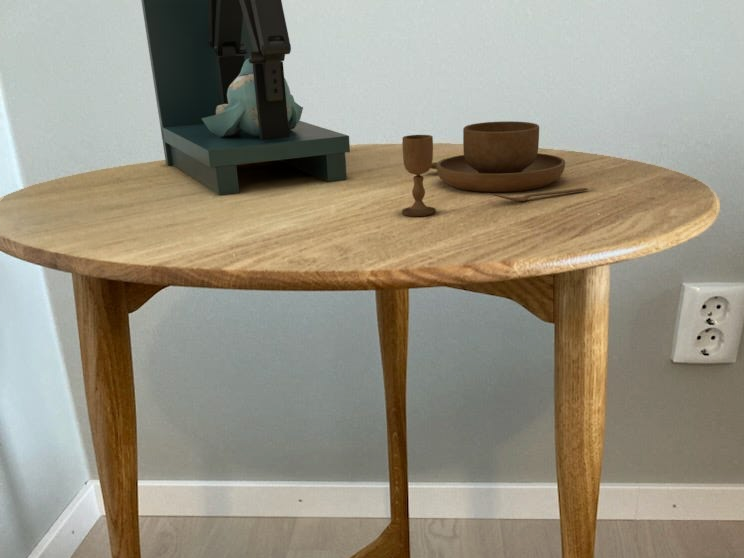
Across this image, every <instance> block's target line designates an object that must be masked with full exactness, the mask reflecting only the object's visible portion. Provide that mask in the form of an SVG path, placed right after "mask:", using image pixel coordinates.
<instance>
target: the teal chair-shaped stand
mask: <svg viewBox="0 0 744 558" xmlns="http://www.w3.org/2000/svg"><path fill="white" fill-rule="evenodd" d="M140 1H141V2H140V3H141V7H142V14H143V20H144V27H145V33H146V35H145V36H146V40H147V48H148V53H149V61H150V67H151V68H150V69H151V73H152V80H153V87H154V93H155V94H154V95H155V99H156V100H155V101H156V107H157V115H158V120H159V121H158V122H159V126H160V132H161V140H162V147H163V152H164V153H163V154H164V159H165V165H166V166H168V167H171V166H173V167H175V168H176V169H178V170H180V171H181V172H182V173H184V174H186V175H187V176H188V177H190V178H192V179H193V180H195V181H197V182H198V183H200V184H201V185H203V186H204V187H206V188H208V189H209V190H211V191H212V192H214V193H216V194H217V195H219V196H221V195H222V196H223V195H230V194H239V193H240V184H239V178H238V177H239V176H238V170H237V169H238V167H237V166H238V165H247V164H255V163H264V162H274V161H279V162H282V163H284V164H287V165H289V166H292V167H294V168H296V169H297V170H301V171H303V172H304V173H307V174H310V175H312V176H315V177H316V178H319V179H322V180H324V181H326V182H328V183H329V182H335V181H345V180H347V178H348V177H347V176H348V175H347V161H346V160H347V159H346V153H350V152H351V147H350V145H351V144H350V135H348V134H344V133H342V132H338V131H336V130H332V129H328V128H325V127H321V126H319V125H315V124H312V123H309V122H306V121H302V120H299V122H298V124H297V125H296V127H295V128H294V129H291V130H289V137H285V138H275V139H265V140H262V139H260V136H253V135H250V134H248V133H246V132H245V131H243V130H242V132H241V133H239V134H236V135H233V136H226V137H219V136H217V135H216V134H214V133H212V132H211V131H210V130H209V129H208V127H207V126H206V125H205V123H204V122H203V120H202V118H205V117H209V116H213V115H216V108H217V106H219V105H222V96H221V87H220V79H219V71H218V62H217V57H220V56H216V54H215V52H214V48H211V47H210V45H209V23H208V0H140ZM243 43H244V45H245V48H246V51H247V54H237V55H236V56H239V55H243V56H244V58H245V60H246V59H249V56H250V52H254V50H253V47H252V43H251V40H250V36H249V33H248V29H247V26H246V22H245V19H244V15H243V23H242V35H241V44H243Z"/></svg>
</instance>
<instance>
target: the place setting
mask: <svg viewBox="0 0 744 558" xmlns="http://www.w3.org/2000/svg"><path fill="white" fill-rule="evenodd" d="M462 132H463V133H462V140H463V141H462V142H463V143H462V145H463V148H462V149H463V154H460V155H454V156H450V157H447V158H444V159H441V160H439V161H437V162H433V160H434V138H433V135H431V134H410V135H405V136H402V143H401V144H402V159H403V160H402V161H403V166H404V169H405V171H407V173H409V174H411V175H414V176H413V177H412V180H413V187H412V191H411V194H412V197H413V199H414V203H412V205H410V206H409V207H405V208H403V209H402V210H401V213H402V215H404V216H408V217H427V216H432V215H435V214H436V213H437V209H436V208H435V207H433V206H427V205H426V204H425V203H424V202H423V200H424V197H425V195H426V189H425V187H424V176H423V175H424V174H426V173H427V172H429V171H430V170H431V169H432V170H436V173H437V175H438V178H439V179H441V181H443V182H444V183H445V184H447V185H449V186H451V187H452V188H456V189H459V190H462V191H463V190H464V191H470V192H471V191H472V192H481V193H484V192H485V193H492V194H491V195H492V196H494V197H497V198H501V199H505V200H509V201H515V202H525V201H527V200H528V199H529V198H532V197H539V196H540V197H541V196H550V195H551V196H552V195H560V194H569V193H577V192H583V191H588V190H589V188H588V187H581V188H573V189H572V188H571V189H563V190H555V191H545V192H537V193H529V194H525V195H524V196H518V197H517V196H516V197H511V196H505V195H500V194H493V193H503V192H504V193H505V192H506V193H509V192H520V191H529V190H535V189H538V188H542V187H543V188H544V187H546V186H548V185H550V184H552V183H553V182H555V181H557V180H558V179H559V178H560V177H561V176H562V174H563V173H564V170H565V167H566V160H565V159H564V158H562V157H560V156H557V155H553V154H548V153H539V145H540V125H539V124H537V123H534V122H529V121H513V120H512V121H509V120H508V121H506V120H505V121H503V120H502V121H487V122H479V123H471V124H468V125H465V126H464V127H463V128H462Z"/></svg>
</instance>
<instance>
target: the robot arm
mask: <svg viewBox="0 0 744 558" xmlns="http://www.w3.org/2000/svg"><path fill="white" fill-rule="evenodd" d="M283 6H284V5H283V1H282V0H208V23H209V45H210V47H211V48H214V52H215V54H216V56H220V57H217V62H218V71H219V79H220V87H221V96H222V104H228V99H227V91H228V88H229V86H230V84H231V83H232V82H233V81H234V80H235V79H236V78H237V77H238V75H239V74H240V72H241V69H242V67H243V64H244V62H245V58H244V56H243V55H239V56H236V55H237V54H247V51H246V48H245V45H244V43H243V44H241V35H242V23H243V15H244V19H245V22H246V26H247V29H248V33H249V36H250V40H251V43H252V47H253V50H254V52H250V56H249V60H248V61H249V63H250V64H251V63H252V64H253V74H254V84H255V94H256V104H257V113H258V123H259V133H260V139H262V140H265V139H275V138H285V137H289V127H288V115H287V104H286V92H285V81H284V78H285V72H284V71H285V70H284V61H285V58H286V55H290V54H291V51H292V46H291V41H290V37H289V32H288V25H287V21H286V16H285V11H284V7H283Z"/></svg>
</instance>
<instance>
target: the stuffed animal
mask: <svg viewBox="0 0 744 558" xmlns="http://www.w3.org/2000/svg"><path fill="white" fill-rule="evenodd" d="M248 60H249V59H246V60H245V62H244V64H243V67H242V69H241V72H240V74H239V75H238V77H237V78H236V79H235V80H234V81H233V82H232V83H231V84H230V86H229V88H228V91H227V99H228V104H222V105H219V106H217V108H216V115H213V116H209V117H205V118H202V120H203V122H204V123H205V125H206V126H207V127H208V129H209V130H210V131H211V132H212V133H214V134H216V135H217V136H219V137H226V136H233V135H236V134H239V133H241V132H242V130H243V131H245V132H246V133H248V134H250V135H253V136H260V133H259V123H258V113H257V104H256V94H255V84H254V74H253V64H252V63H251V64H250V63H249V61H248ZM284 81H285V92H286V104H287V115H288V127H289V130H291V129H294V128H295V127H296V125H297V124H298V122H299V121H301V117H302V113H303V110H304V107H303V106H301V105H300V104H298V103H297V102H296V101H295V99H294V96H293V94H291V90H290V87H289V85H288V81H287V80H286V77H284Z"/></svg>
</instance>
